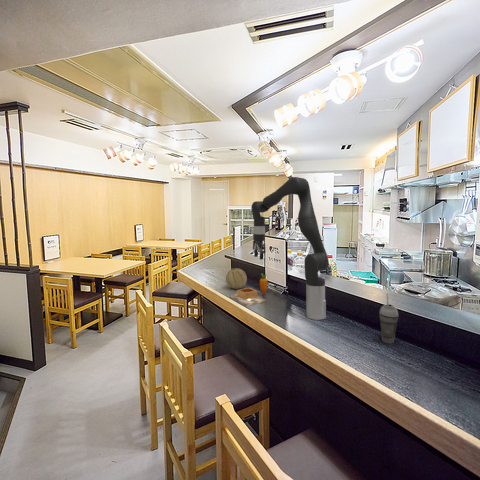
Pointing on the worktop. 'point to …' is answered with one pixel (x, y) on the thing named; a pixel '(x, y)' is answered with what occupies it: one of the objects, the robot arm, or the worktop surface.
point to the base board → (247, 303)
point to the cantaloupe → (236, 278)
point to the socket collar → (247, 294)
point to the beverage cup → (388, 322)
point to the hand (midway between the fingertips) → (258, 258)
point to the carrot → (263, 284)
